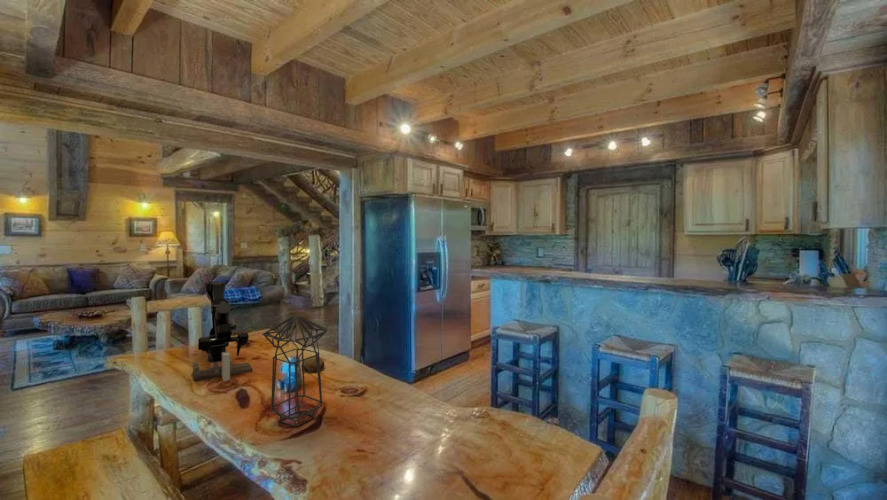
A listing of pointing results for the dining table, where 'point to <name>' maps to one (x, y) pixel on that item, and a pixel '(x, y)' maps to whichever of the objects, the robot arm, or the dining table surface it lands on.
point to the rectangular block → (226, 366)
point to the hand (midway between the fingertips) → (225, 357)
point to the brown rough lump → (312, 365)
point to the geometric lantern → (301, 323)
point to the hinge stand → (218, 370)
